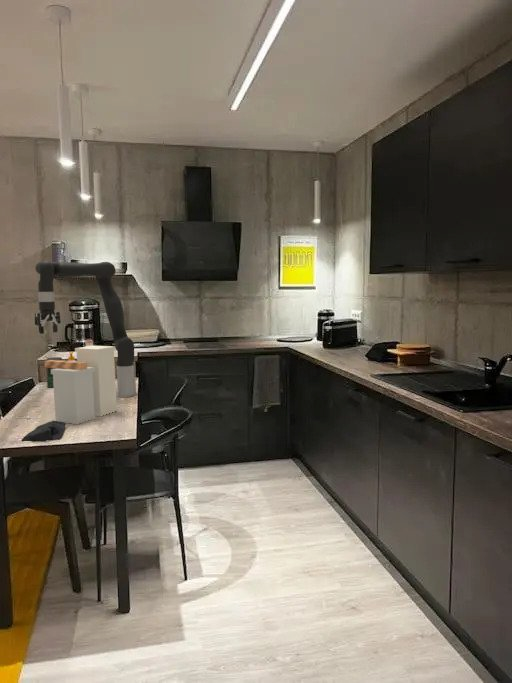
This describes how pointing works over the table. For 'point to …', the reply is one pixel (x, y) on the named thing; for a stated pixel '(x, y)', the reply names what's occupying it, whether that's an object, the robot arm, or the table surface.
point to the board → (65, 364)
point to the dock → (73, 395)
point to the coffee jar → (50, 376)
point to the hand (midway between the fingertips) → (48, 333)
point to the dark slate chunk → (46, 432)
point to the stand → (101, 376)
